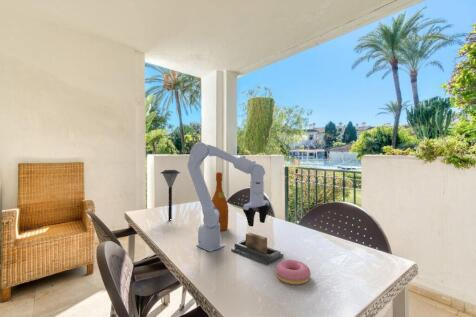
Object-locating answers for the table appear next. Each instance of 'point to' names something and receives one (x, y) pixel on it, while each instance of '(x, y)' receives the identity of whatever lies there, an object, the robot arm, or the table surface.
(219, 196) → the wine bottle
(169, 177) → the solar garden light
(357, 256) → the table surface
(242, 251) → the floor track
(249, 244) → the door panel
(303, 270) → the doughnut
